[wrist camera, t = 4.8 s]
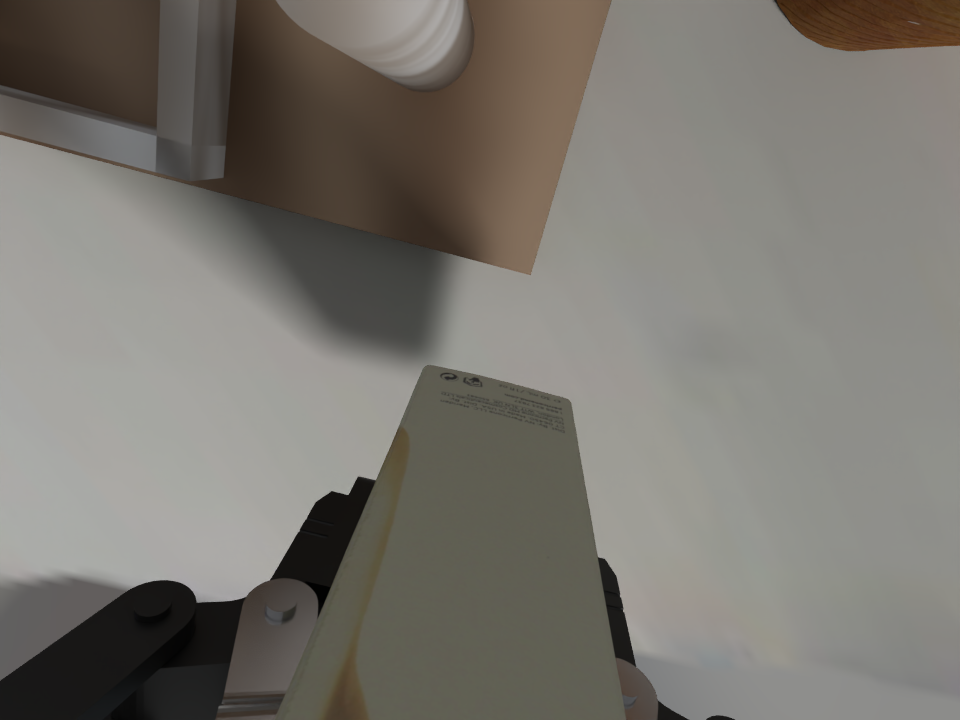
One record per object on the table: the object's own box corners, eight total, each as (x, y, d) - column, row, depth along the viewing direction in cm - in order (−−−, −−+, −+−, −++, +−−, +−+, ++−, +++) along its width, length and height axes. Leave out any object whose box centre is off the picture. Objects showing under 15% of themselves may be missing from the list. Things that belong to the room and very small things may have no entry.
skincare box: (423, 357, 15) (105, 1024, 4) (576, 395, 15) (745, 1169, 4) (384, 539, 17) (119, 1291, 6) (516, 571, 17) (506, 1375, 6)
